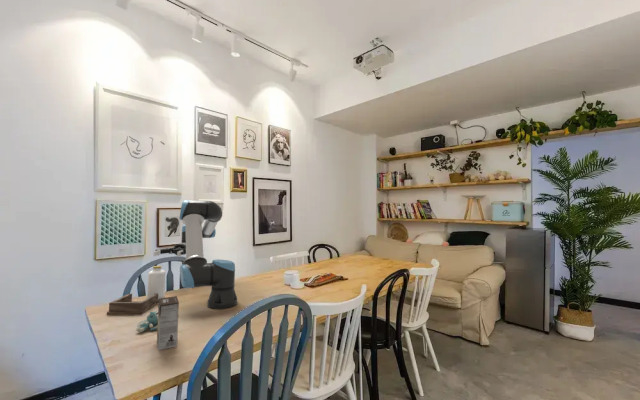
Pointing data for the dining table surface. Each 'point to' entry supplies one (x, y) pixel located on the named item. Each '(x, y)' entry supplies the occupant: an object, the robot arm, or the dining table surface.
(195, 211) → the robot arm
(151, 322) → the stuffed animal
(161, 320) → the coffee box
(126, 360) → the dining table surface
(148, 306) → the walnut stand
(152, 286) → the potion bottle
